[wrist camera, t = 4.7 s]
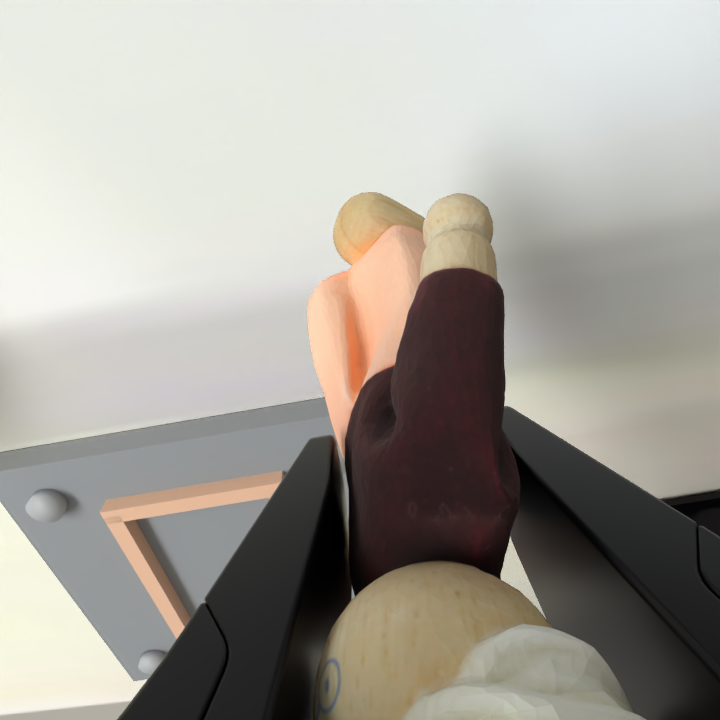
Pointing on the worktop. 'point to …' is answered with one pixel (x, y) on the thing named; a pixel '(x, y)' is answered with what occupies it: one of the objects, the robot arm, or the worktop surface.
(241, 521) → the base plate
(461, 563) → the grandmother figurine
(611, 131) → the worktop surface
